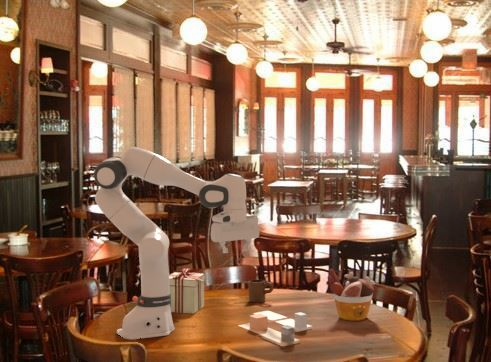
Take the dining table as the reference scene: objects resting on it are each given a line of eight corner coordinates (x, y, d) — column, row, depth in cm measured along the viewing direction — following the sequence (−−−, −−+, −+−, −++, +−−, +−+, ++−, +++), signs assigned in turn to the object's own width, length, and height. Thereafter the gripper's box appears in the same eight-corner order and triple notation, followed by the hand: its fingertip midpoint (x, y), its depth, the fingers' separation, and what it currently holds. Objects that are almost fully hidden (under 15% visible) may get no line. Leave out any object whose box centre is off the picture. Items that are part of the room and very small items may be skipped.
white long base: (282, 346, 239) (281, 329, 238) (237, 327, 264) (237, 312, 264) (300, 342, 243) (299, 326, 243) (254, 324, 268) (254, 309, 268)
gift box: (204, 314, 287) (203, 274, 286) (162, 313, 290) (161, 273, 289) (212, 304, 304) (211, 267, 303) (172, 304, 307) (171, 266, 306)
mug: (276, 300, 310) (276, 280, 309) (270, 304, 303) (270, 283, 302) (252, 298, 314) (252, 278, 314) (246, 302, 308) (245, 282, 307)
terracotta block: (256, 331, 255) (256, 318, 255) (249, 328, 259) (249, 315, 259) (267, 329, 258) (267, 316, 257) (260, 326, 262) (260, 313, 262)
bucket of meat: (380, 315, 281) (379, 267, 280) (371, 325, 266) (370, 275, 265) (333, 310, 289) (333, 265, 288) (322, 320, 274) (322, 272, 273)
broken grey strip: (295, 332, 257) (295, 316, 256) (252, 316, 282) (252, 301, 282) (312, 329, 261) (311, 313, 261) (268, 313, 286) (268, 298, 286)
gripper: (253, 213, 266) (253, 248, 267) (208, 217, 255) (209, 253, 256) (262, 214, 261) (262, 249, 261) (216, 218, 250) (217, 255, 250)
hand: (235, 251), depth 259 cm, fingers open, 8 cm apart
